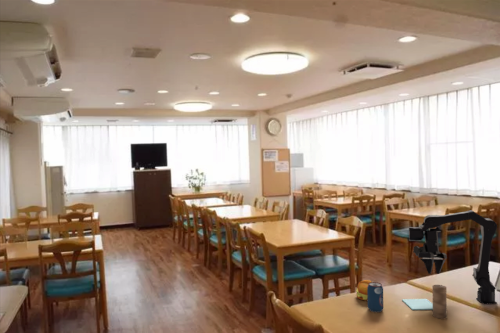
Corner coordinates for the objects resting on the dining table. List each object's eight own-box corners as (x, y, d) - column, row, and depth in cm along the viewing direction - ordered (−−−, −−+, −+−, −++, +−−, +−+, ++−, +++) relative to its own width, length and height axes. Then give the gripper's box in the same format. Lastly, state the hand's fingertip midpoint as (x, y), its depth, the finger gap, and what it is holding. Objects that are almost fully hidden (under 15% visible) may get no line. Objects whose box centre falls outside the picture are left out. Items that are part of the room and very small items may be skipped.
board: (426, 299, 192) (426, 298, 192) (438, 309, 180) (438, 308, 180) (402, 300, 192) (402, 299, 192) (412, 310, 180) (412, 308, 180)
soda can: (384, 313, 177) (384, 286, 177) (368, 312, 178) (368, 286, 178) (382, 307, 184) (382, 281, 183) (366, 306, 185) (366, 281, 185)
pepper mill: (442, 313, 176) (442, 284, 175) (449, 318, 170) (448, 288, 170) (430, 313, 175) (430, 284, 175) (436, 318, 170) (436, 289, 170)
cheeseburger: (374, 293, 201) (375, 276, 198) (379, 306, 191) (380, 288, 188) (354, 293, 202) (354, 276, 199) (357, 306, 192) (358, 288, 189)
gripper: (424, 242, 207) (426, 272, 203) (406, 240, 195) (408, 273, 191) (445, 241, 198) (448, 274, 195) (429, 240, 186) (431, 274, 183)
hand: (433, 273), depth 191 cm, fingers open, 9 cm apart
